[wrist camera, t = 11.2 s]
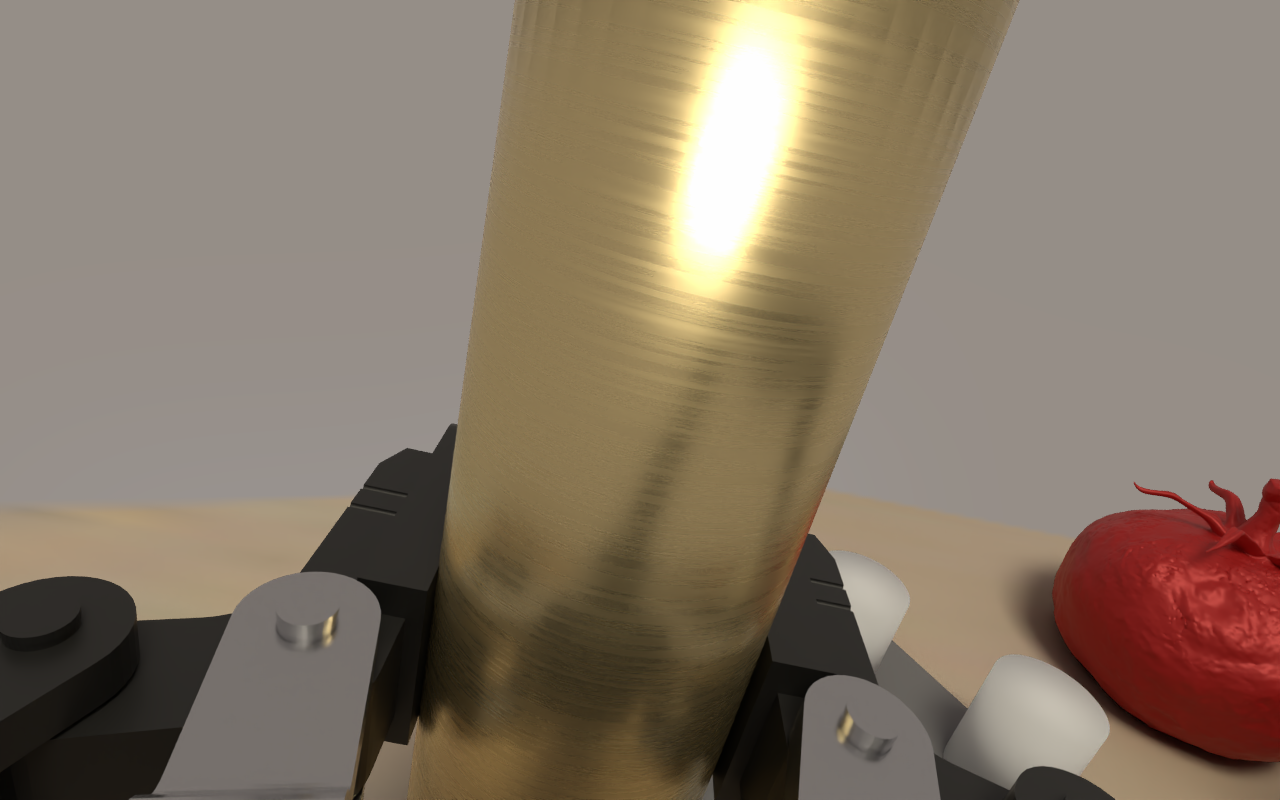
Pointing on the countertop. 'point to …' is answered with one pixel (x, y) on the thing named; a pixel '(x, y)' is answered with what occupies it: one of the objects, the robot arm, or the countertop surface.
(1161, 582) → the red tomato
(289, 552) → the countertop surface
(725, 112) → the gold tall tapered cylinder
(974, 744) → the mat
